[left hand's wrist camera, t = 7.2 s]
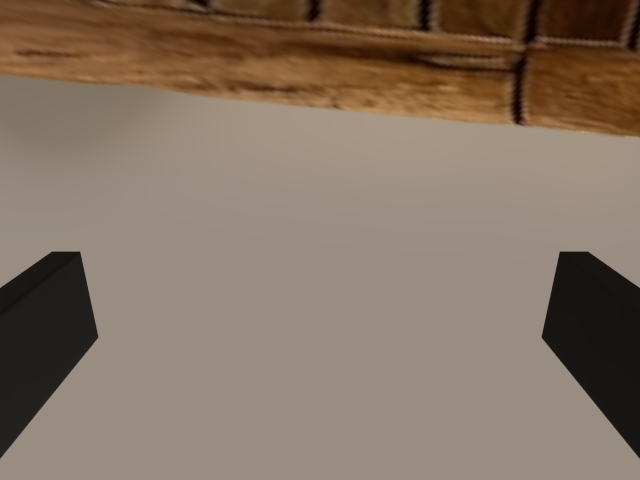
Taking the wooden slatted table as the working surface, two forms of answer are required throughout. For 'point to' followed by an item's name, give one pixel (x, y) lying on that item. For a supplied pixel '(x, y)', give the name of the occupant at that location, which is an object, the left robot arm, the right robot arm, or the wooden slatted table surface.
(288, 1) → the wooden slatted table surface
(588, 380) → the left robot arm
